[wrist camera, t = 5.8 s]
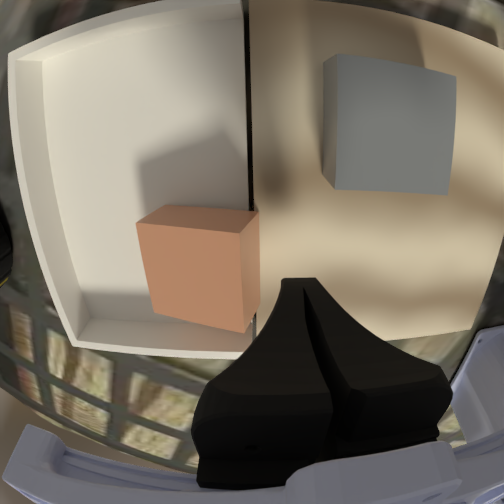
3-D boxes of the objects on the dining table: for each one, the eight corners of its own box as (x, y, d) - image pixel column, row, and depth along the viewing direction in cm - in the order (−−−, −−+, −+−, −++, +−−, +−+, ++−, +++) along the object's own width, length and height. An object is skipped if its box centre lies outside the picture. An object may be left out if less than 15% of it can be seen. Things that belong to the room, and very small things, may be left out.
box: (252, 325, 20) (251, 359, 17) (89, 318, 20) (72, 346, 17) (243, 11, 11) (240, -9, 9) (40, 55, 12) (8, 53, 9)
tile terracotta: (260, 303, 16) (244, 333, 14) (177, 287, 18) (154, 312, 16) (259, 211, 14) (239, 233, 12) (164, 204, 15) (135, 222, 13)
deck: (458, 312, 19) (470, 329, 17) (257, 325, 20) (257, 347, 18) (500, 59, 11) (521, 59, 9) (250, 11, 11) (248, -2, 10)
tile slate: (421, 179, 13) (447, 195, 11) (321, 174, 13) (334, 189, 11) (427, 77, 11) (456, 76, 9) (322, 62, 11) (336, 53, 9)
